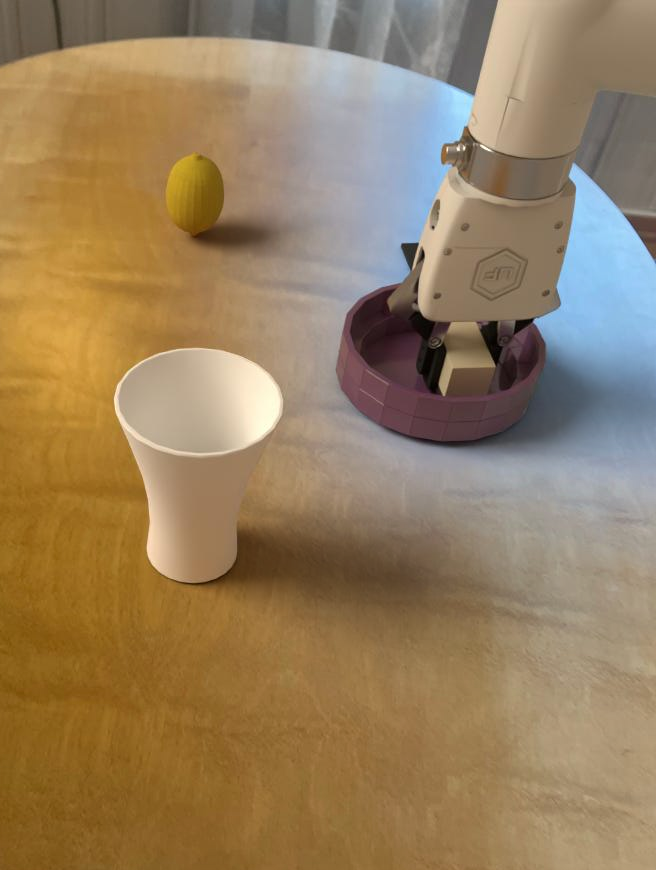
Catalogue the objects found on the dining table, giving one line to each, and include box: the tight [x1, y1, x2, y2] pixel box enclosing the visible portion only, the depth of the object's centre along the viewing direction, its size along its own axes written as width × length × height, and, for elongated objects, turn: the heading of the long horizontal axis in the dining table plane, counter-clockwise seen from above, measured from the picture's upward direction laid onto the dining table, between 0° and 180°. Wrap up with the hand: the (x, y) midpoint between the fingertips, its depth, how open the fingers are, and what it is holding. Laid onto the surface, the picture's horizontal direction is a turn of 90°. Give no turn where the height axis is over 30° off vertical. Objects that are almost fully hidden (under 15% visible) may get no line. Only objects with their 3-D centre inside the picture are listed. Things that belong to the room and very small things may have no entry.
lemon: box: [165, 151, 225, 237], centre depth 95 cm, size 6×6×8 cm
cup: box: [113, 347, 285, 584], centre depth 67 cm, size 10×10×14 cm
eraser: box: [434, 322, 496, 397], centre depth 82 cm, size 4×7×4 cm, turn 5°
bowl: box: [335, 282, 547, 442], centre depth 83 cm, size 16×16×4 cm
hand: (452, 376), depth 84 cm, fingers closed on eraser, 3 cm apart
